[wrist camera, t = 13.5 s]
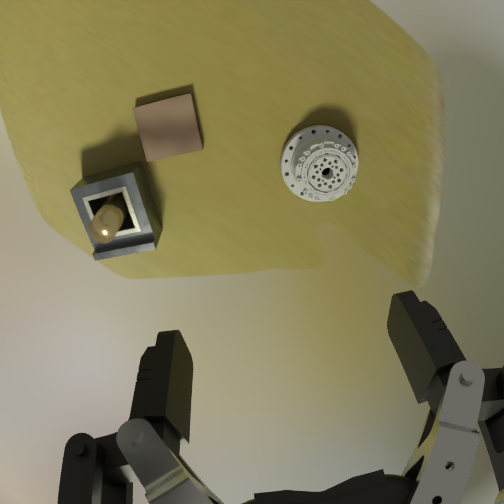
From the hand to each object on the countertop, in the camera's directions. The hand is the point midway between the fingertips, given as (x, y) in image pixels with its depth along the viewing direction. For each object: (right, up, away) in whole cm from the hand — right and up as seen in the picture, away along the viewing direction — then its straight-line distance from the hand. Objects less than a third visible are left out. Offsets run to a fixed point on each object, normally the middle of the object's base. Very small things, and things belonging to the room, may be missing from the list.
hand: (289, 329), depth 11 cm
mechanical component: (+7, +14, +28) cm, 32 cm away
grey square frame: (-19, +10, +28) cm, 35 cm away
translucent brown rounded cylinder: (-19, +10, +28) cm, 35 cm away
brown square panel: (-11, +18, +24) cm, 32 cm away
